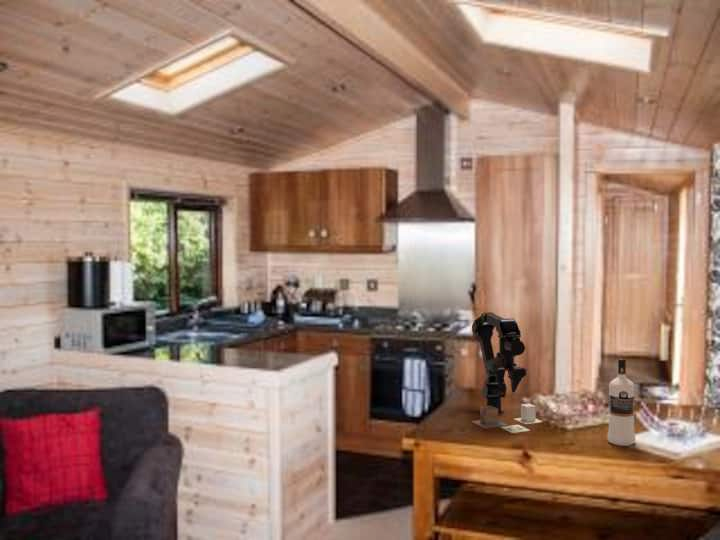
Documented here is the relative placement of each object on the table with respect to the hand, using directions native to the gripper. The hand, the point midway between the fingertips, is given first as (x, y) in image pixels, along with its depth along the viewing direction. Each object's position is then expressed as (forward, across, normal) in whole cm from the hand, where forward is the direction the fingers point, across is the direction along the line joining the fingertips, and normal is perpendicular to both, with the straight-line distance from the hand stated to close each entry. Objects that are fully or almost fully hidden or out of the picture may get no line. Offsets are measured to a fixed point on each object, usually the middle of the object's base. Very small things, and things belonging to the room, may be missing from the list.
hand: (506, 389), depth 263 cm
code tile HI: (+12, +4, +7) cm, 15 cm away
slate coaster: (+12, +1, -9) cm, 15 cm away
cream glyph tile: (+12, +11, -4) cm, 17 cm away
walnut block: (+12, +1, -9) cm, 15 cm away
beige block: (+12, +4, +7) cm, 15 cm away
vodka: (+13, +39, +22) cm, 46 cm away
